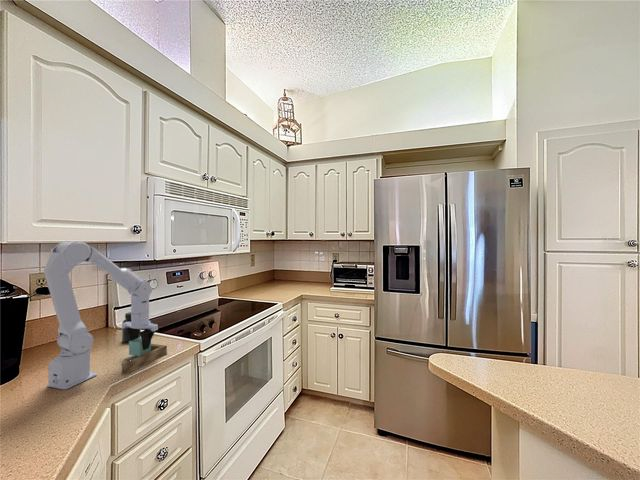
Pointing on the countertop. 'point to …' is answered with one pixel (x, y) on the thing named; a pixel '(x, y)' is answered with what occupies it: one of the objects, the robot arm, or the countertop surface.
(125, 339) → the supplement bottle
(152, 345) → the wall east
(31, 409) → the countertop surface
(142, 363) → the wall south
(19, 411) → the countertop surface
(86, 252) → the robot arm
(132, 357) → the mat
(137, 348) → the cube
